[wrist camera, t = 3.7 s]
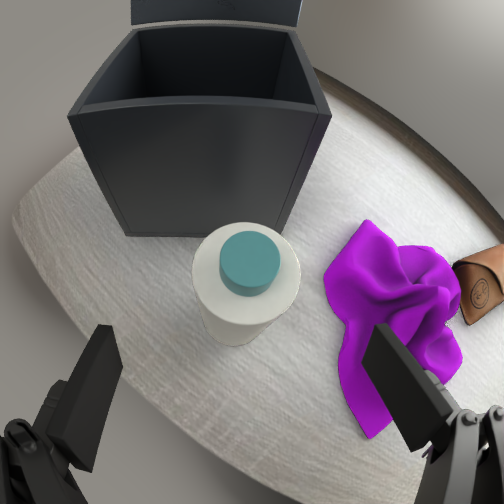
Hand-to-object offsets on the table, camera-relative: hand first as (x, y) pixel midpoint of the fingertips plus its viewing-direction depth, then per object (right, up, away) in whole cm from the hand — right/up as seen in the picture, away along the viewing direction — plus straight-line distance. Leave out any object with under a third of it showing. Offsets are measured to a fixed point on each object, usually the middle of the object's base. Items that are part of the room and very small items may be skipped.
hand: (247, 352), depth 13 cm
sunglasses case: (+34, +1, +16) cm, 37 cm away
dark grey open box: (-5, +12, +16) cm, 20 cm away
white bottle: (-1, 0, +10) cm, 10 cm away
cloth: (+15, -3, +12) cm, 20 cm away
